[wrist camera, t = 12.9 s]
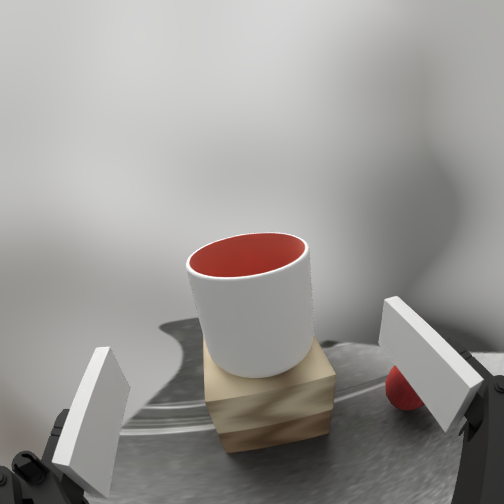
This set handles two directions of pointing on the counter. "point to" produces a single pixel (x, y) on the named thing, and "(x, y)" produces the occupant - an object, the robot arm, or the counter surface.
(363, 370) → the counter surface
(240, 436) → the block bottom
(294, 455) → the counter surface
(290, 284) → the cup
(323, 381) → the block top
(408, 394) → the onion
